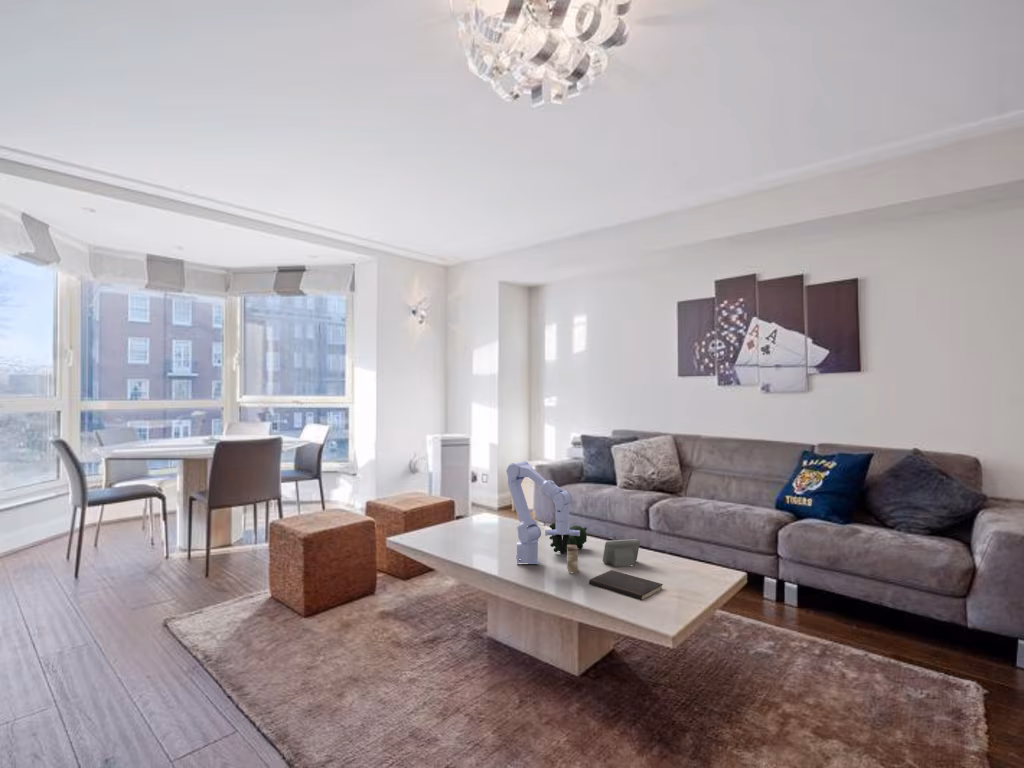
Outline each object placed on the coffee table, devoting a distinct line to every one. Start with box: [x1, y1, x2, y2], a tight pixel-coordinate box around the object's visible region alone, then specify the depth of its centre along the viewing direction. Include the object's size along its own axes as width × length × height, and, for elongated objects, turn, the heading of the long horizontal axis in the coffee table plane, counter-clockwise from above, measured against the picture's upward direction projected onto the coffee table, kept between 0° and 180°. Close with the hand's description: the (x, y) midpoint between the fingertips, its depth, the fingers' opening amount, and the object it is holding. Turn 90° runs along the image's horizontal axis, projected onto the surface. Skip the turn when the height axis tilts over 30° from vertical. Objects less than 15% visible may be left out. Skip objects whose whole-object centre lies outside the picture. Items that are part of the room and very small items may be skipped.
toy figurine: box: [549, 518, 588, 555], centre depth 244 cm, size 9×19×25 cm
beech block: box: [566, 545, 579, 574], centre depth 217 cm, size 4×6×10 cm, turn 178°
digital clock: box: [602, 538, 641, 568], centre depth 226 cm, size 16×9×11 cm, turn 90°
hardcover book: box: [588, 569, 664, 601], centre depth 199 cm, size 16×23×2 cm
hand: (562, 552), depth 217 cm, fingers closed
